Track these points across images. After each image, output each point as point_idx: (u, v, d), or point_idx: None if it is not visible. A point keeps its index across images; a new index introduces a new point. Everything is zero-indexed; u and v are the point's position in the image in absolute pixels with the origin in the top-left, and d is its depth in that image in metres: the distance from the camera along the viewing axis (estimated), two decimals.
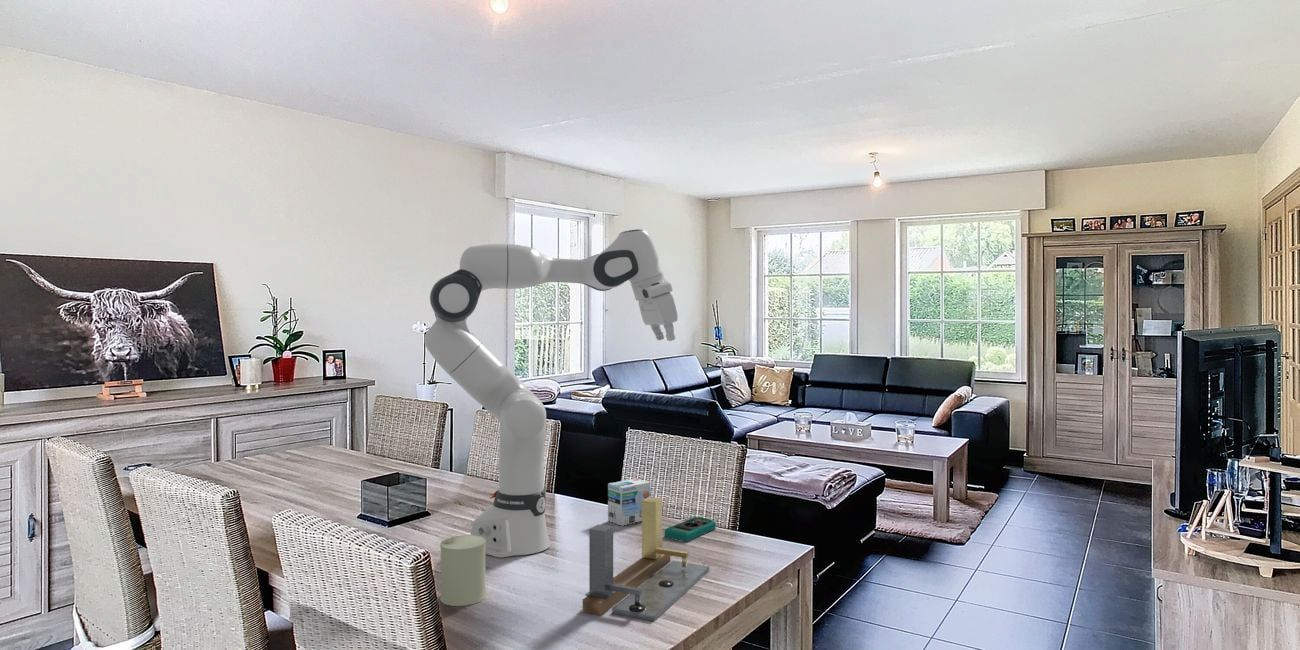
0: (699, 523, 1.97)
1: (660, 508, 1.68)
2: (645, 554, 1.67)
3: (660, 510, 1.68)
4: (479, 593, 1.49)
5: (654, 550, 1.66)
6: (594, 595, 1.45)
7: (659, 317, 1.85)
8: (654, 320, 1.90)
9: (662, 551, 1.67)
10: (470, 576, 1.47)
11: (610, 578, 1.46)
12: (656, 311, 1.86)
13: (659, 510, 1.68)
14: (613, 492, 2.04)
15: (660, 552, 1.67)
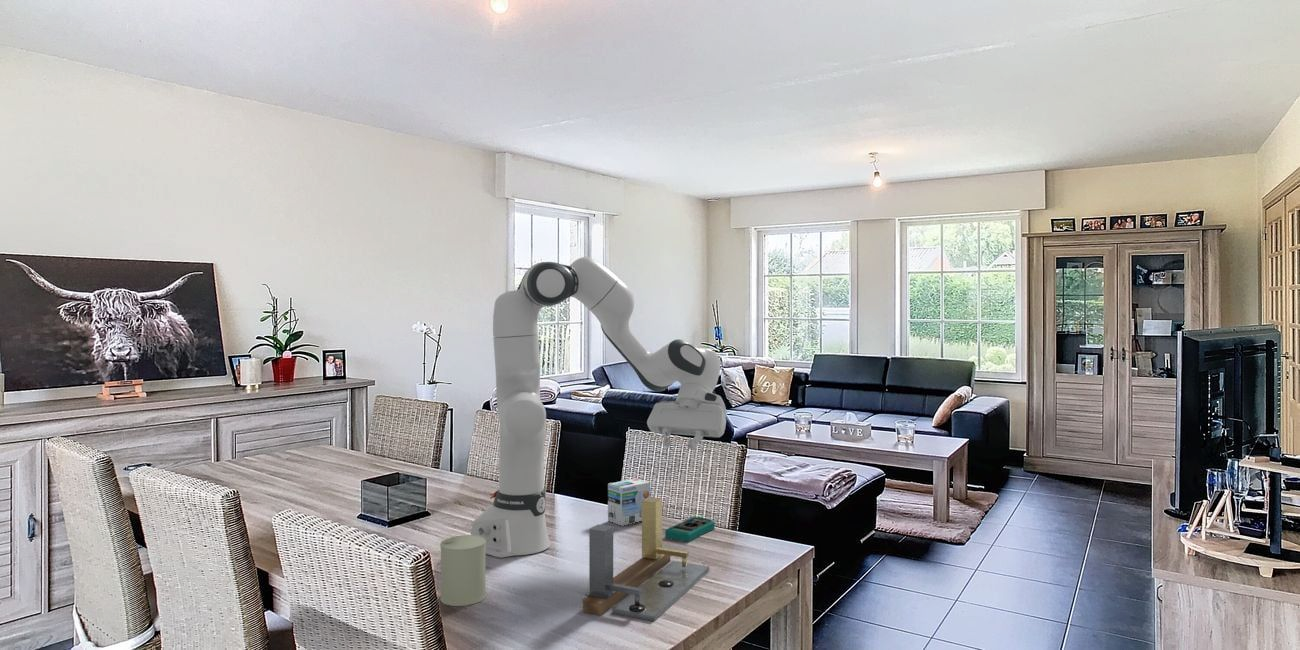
0: (698, 523, 1.97)
1: (660, 508, 1.68)
2: (645, 554, 1.67)
3: (660, 510, 1.68)
4: (479, 593, 1.49)
5: (654, 550, 1.66)
6: (594, 595, 1.45)
7: (707, 422, 1.82)
8: (687, 422, 1.84)
9: (662, 551, 1.67)
10: (470, 576, 1.47)
11: (610, 578, 1.46)
12: (705, 416, 1.84)
13: (659, 510, 1.68)
14: (613, 492, 2.04)
15: (660, 552, 1.67)
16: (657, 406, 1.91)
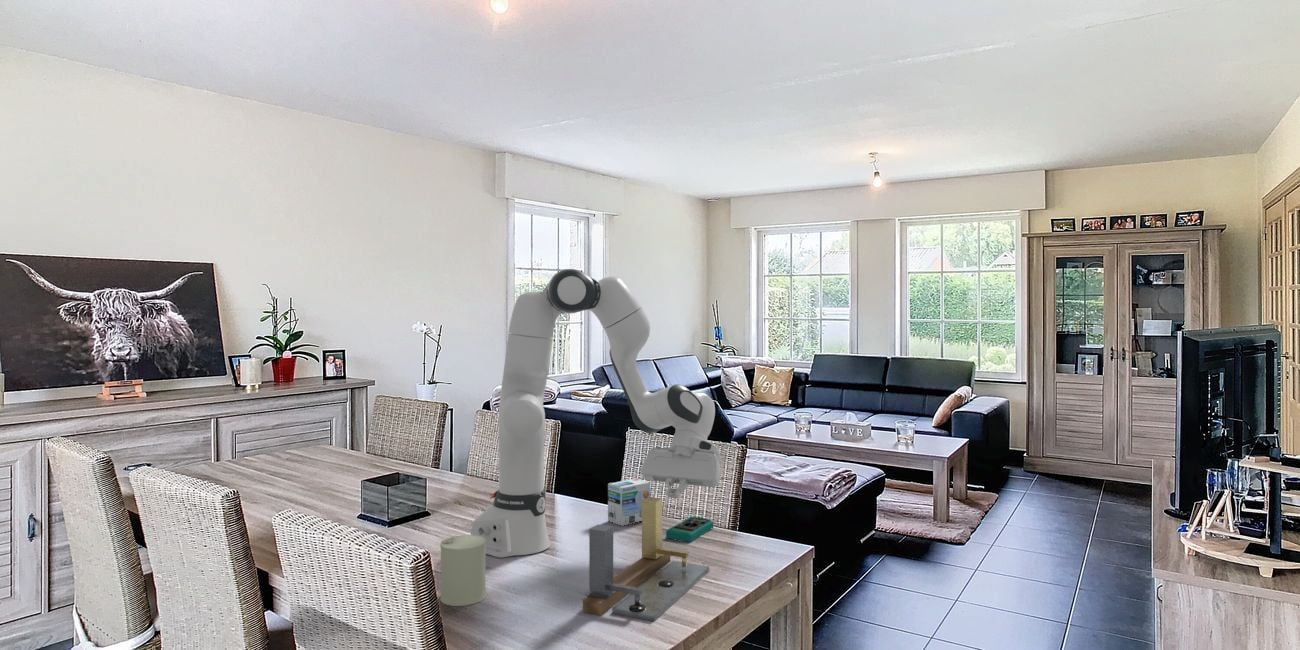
0: (698, 523, 1.97)
1: (660, 508, 1.68)
2: (645, 554, 1.67)
3: (660, 510, 1.68)
4: (479, 593, 1.49)
5: (654, 550, 1.66)
6: (594, 595, 1.45)
7: (702, 471, 1.79)
8: (681, 472, 1.81)
9: (662, 551, 1.67)
10: (470, 576, 1.47)
11: (610, 578, 1.46)
12: (700, 466, 1.80)
13: (659, 510, 1.68)
14: (613, 492, 2.04)
15: (660, 552, 1.67)
16: (651, 453, 1.88)
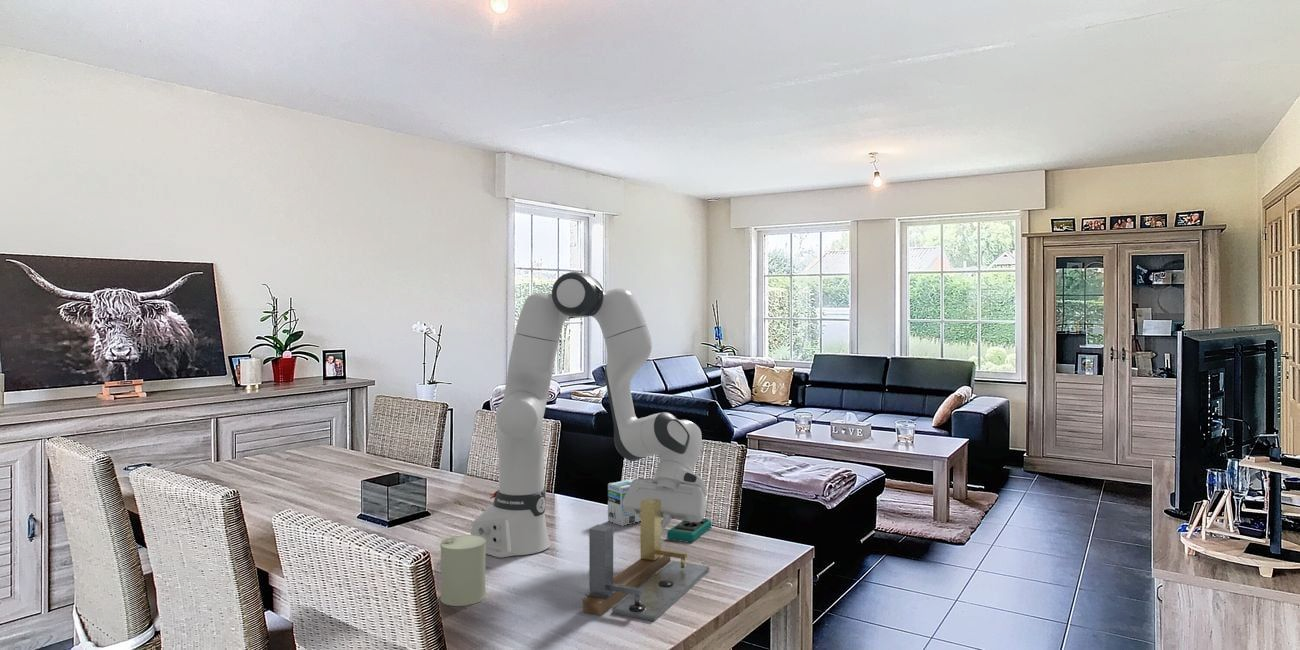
0: (697, 523, 1.97)
1: (659, 509, 1.67)
2: (644, 555, 1.66)
3: (659, 511, 1.67)
4: (479, 593, 1.49)
5: (653, 551, 1.65)
6: (594, 595, 1.45)
7: (686, 506, 1.70)
8: (664, 505, 1.72)
9: (661, 552, 1.66)
10: (470, 576, 1.47)
11: (610, 578, 1.46)
12: (684, 499, 1.72)
13: (658, 511, 1.67)
14: (613, 492, 2.04)
15: (659, 553, 1.66)
16: (633, 485, 1.79)
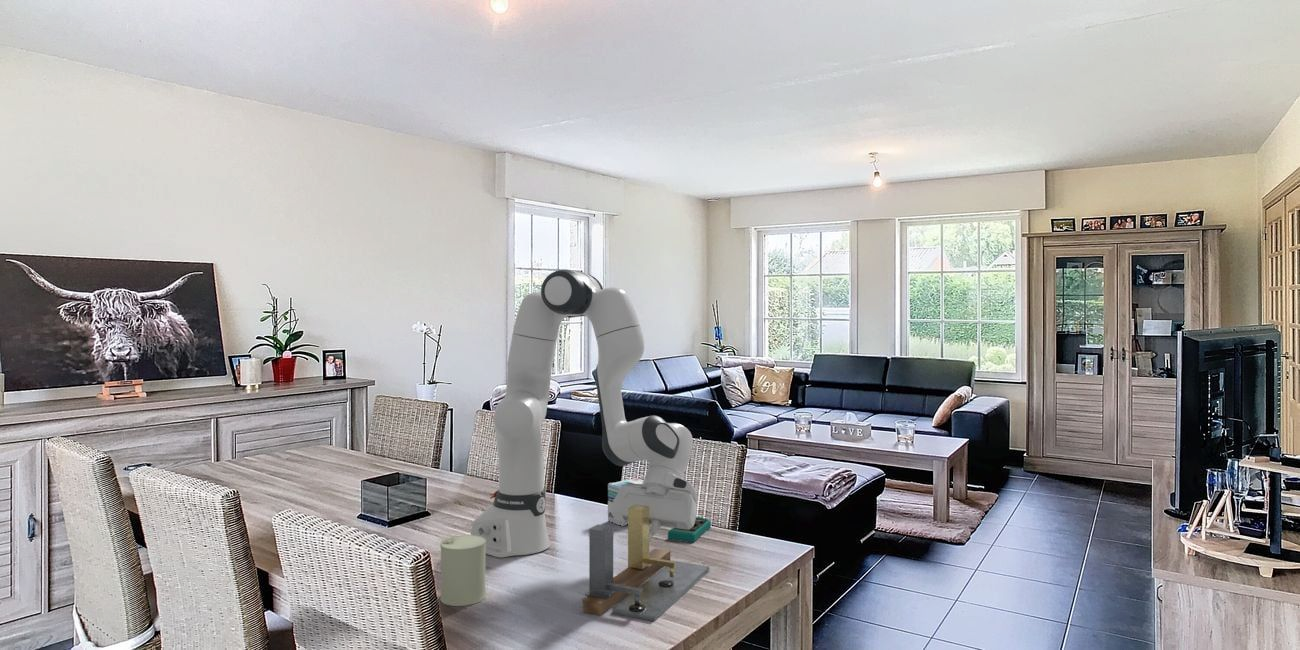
0: (696, 523, 1.97)
1: (647, 516, 1.62)
2: (631, 564, 1.61)
3: (647, 518, 1.62)
4: (479, 593, 1.49)
5: (641, 560, 1.60)
6: (594, 595, 1.45)
7: (676, 512, 1.64)
8: (653, 512, 1.66)
9: (649, 561, 1.60)
10: (470, 576, 1.47)
11: (610, 578, 1.46)
12: (673, 506, 1.66)
13: (646, 518, 1.61)
14: (613, 492, 2.04)
15: (647, 562, 1.60)
16: (622, 490, 1.73)
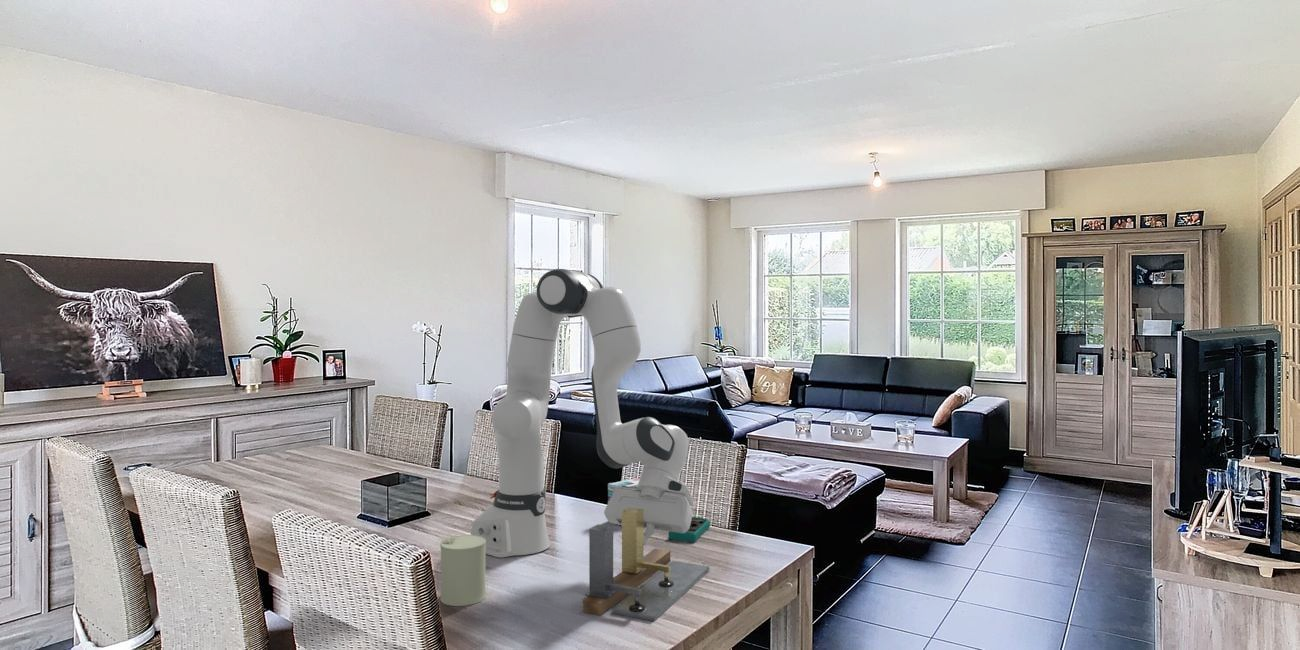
0: (696, 523, 1.97)
1: (641, 519, 1.59)
2: (625, 568, 1.58)
3: (641, 521, 1.59)
4: (479, 593, 1.49)
5: (635, 564, 1.57)
6: (594, 595, 1.45)
7: (671, 515, 1.62)
8: (648, 515, 1.64)
9: (643, 565, 1.58)
10: (470, 576, 1.47)
11: (610, 578, 1.46)
12: (668, 509, 1.63)
13: (640, 521, 1.59)
14: None
15: (641, 566, 1.58)
16: (616, 493, 1.71)
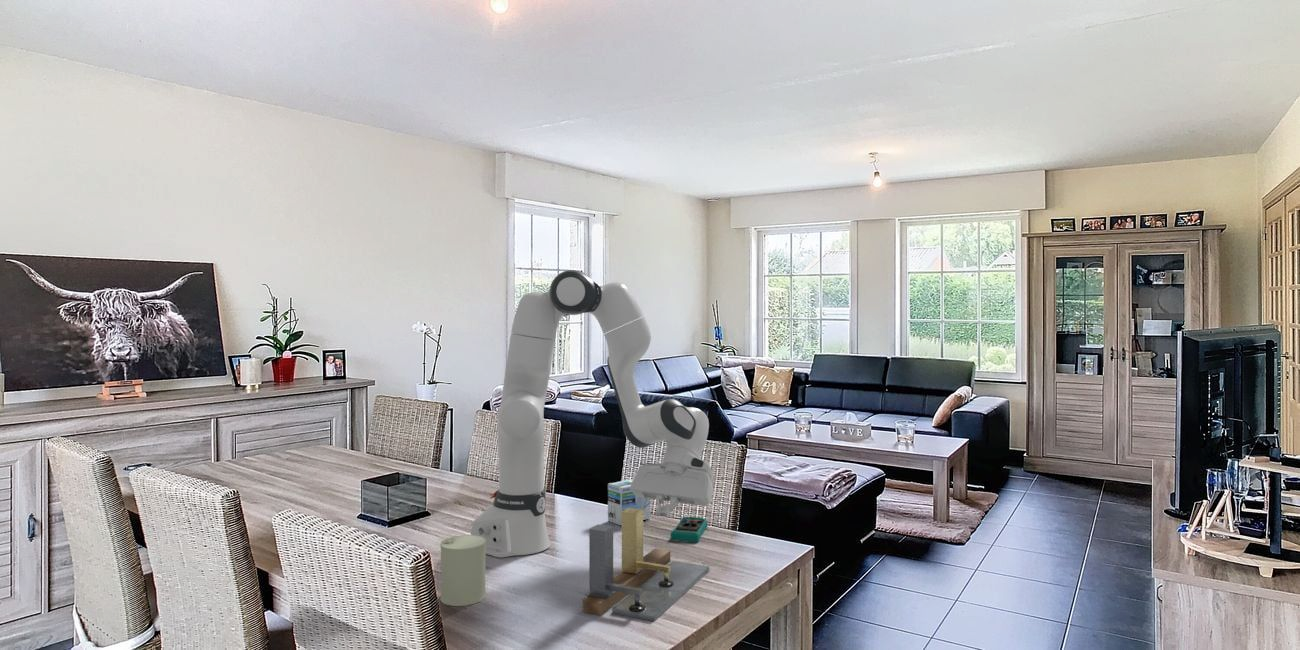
0: (695, 523, 1.97)
1: (641, 519, 1.59)
2: (625, 568, 1.58)
3: (641, 521, 1.59)
4: (479, 593, 1.49)
5: (634, 564, 1.57)
6: (594, 595, 1.45)
7: (693, 490, 1.74)
8: (672, 489, 1.76)
9: (643, 565, 1.57)
10: (470, 576, 1.47)
11: (610, 578, 1.46)
12: (691, 483, 1.76)
13: (640, 521, 1.59)
14: (613, 492, 2.04)
15: (641, 566, 1.58)
16: (642, 469, 1.83)
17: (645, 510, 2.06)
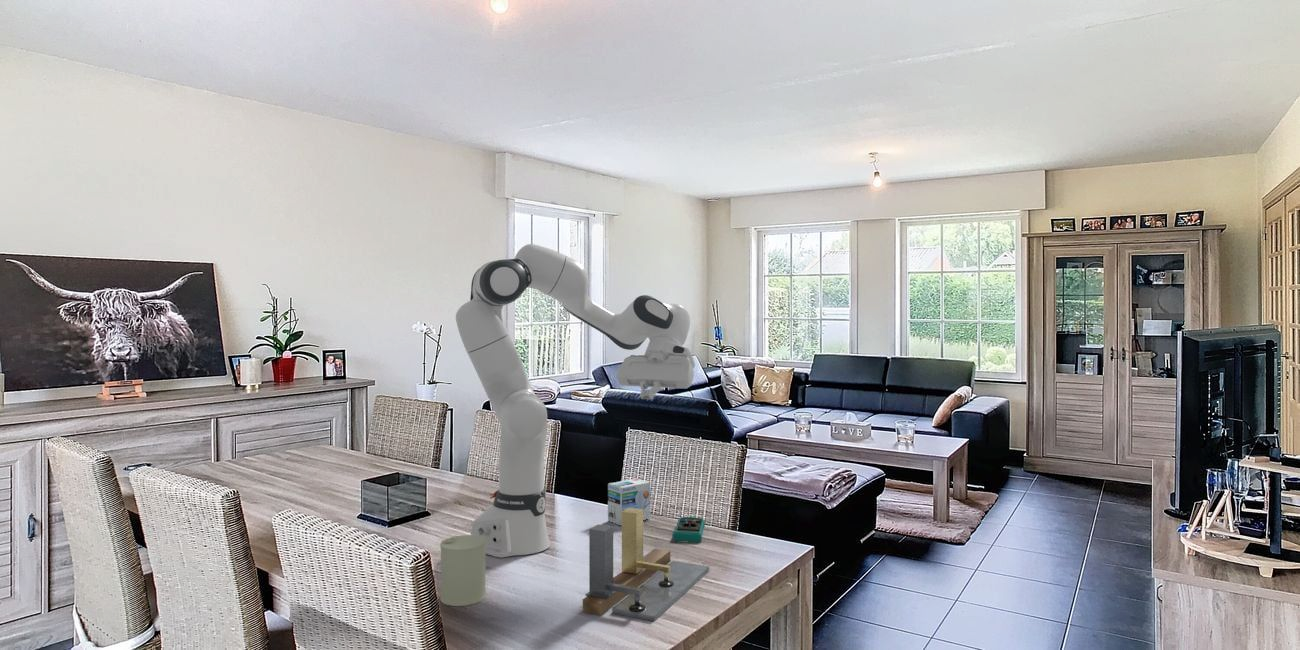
0: (694, 523, 1.97)
1: (641, 519, 1.59)
2: (625, 568, 1.58)
3: (641, 521, 1.59)
4: (479, 593, 1.49)
5: (634, 564, 1.57)
6: (594, 595, 1.45)
7: (675, 373, 1.83)
8: (654, 374, 1.85)
9: (643, 565, 1.57)
10: (470, 576, 1.47)
11: (610, 578, 1.46)
12: (673, 368, 1.85)
13: (640, 521, 1.59)
14: (613, 492, 2.04)
15: (641, 566, 1.58)
16: (626, 360, 1.92)
17: (645, 510, 2.06)
